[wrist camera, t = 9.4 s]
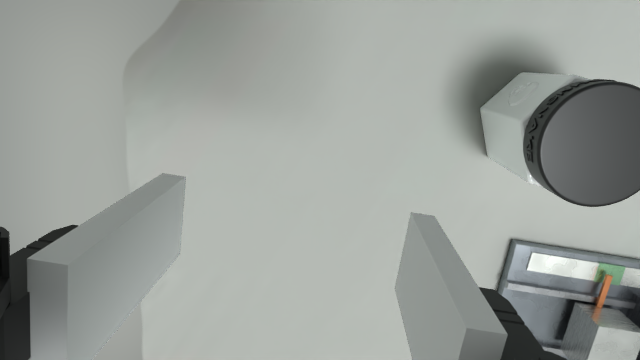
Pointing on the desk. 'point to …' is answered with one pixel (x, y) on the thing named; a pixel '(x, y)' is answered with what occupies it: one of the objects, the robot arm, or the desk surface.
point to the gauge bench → (565, 287)
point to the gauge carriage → (600, 332)
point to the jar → (567, 135)
